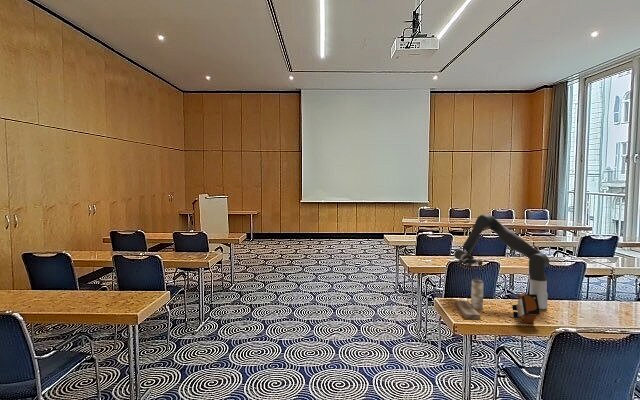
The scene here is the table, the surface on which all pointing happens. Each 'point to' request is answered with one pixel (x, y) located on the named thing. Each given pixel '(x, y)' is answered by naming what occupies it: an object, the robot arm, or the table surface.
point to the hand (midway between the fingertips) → (472, 263)
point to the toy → (527, 308)
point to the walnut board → (467, 310)
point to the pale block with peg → (477, 294)
